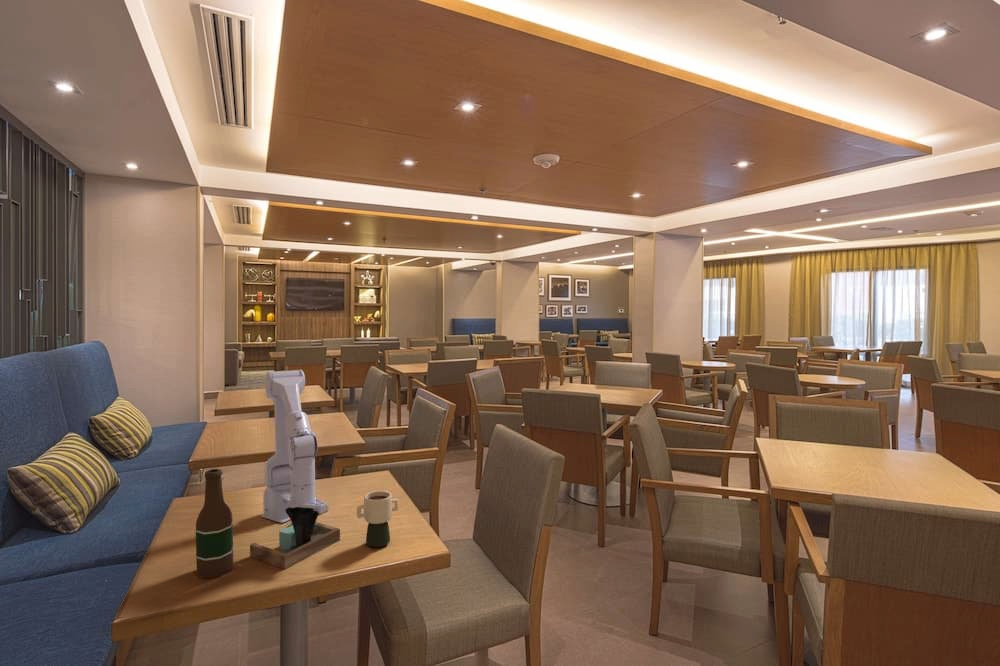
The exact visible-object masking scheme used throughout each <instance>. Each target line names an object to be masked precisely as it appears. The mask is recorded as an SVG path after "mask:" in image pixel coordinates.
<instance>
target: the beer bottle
mask: <svg viewBox="0 0 1000 666" xmlns="http://www.w3.org/2000/svg"><path fill="white" fill-rule="evenodd" d="M222 475H223V471H222V469H220V468H219V469H218V468H211V469H209V470H206V471H205V473H204V478H205V485H204V486H205V487H204V488H205V489H204V504H203V506H202V508H201V509H200V512H199V513H198V516H197V519H196V522H195V551H196V552H195V558H196V575H197V577H199V578H202V579H205V580H209V579H216V577H217V578H221V577H223V576H225V575H227V574H228V573H230V572H231V571H232V569H233V565H234V528H233V527H234V522H233V513H232V511H231V509H230V507H229V506H228V504H226V502H225V500H224V493H223V484H222V481H223V480H222ZM226 573H227V574H226ZM224 574H225V575H224ZM222 575H223V576H222Z"/></svg>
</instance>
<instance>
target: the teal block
mask: <svg viewBox="0 0 1000 666" xmlns="http://www.w3.org/2000/svg"><path fill="white" fill-rule="evenodd" d="M278 533H279V535H278V536H279V537H278V540H279V544H278V545H279V549H280V550H282V551H284V550H286V549H288V548H290V547H292V546H294V545H296V534H295V531H294V528H293V525H292V524H291V525H290V526H288V527H285V528H283V529H281V530H279V531H278Z"/></svg>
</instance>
